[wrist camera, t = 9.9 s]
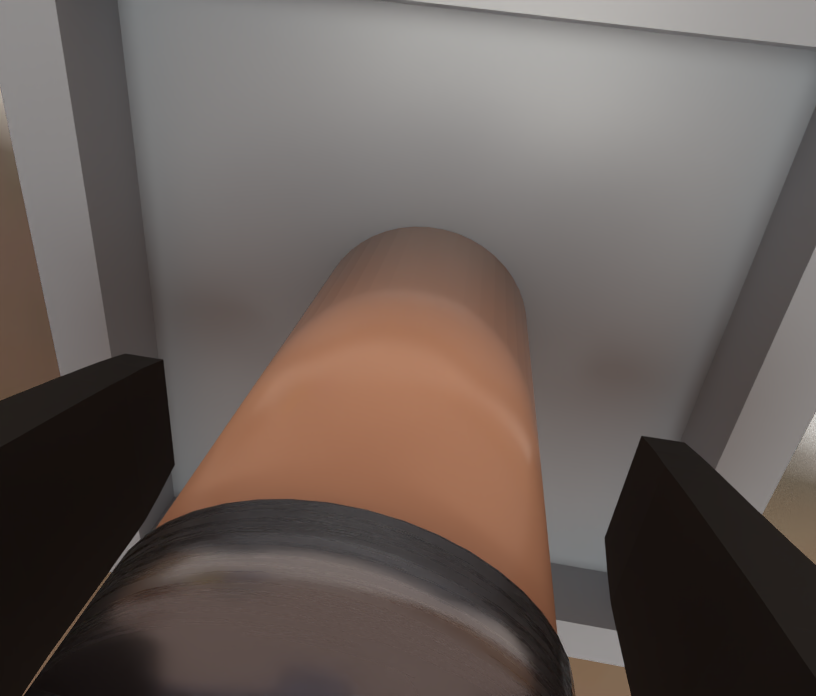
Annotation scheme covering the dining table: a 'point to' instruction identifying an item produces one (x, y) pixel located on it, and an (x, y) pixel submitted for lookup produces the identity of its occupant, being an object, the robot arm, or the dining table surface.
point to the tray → (443, 211)
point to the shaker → (353, 509)
